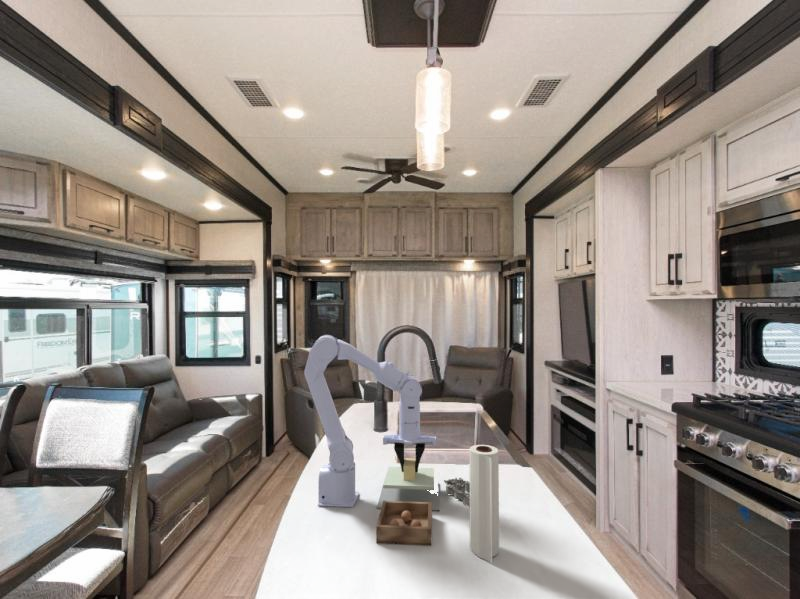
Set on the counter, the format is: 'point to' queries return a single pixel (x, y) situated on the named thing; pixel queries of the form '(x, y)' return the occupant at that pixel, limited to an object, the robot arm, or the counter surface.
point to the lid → (409, 477)
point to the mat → (409, 496)
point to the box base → (405, 523)
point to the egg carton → (458, 489)
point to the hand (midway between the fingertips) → (409, 470)
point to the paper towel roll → (484, 501)
